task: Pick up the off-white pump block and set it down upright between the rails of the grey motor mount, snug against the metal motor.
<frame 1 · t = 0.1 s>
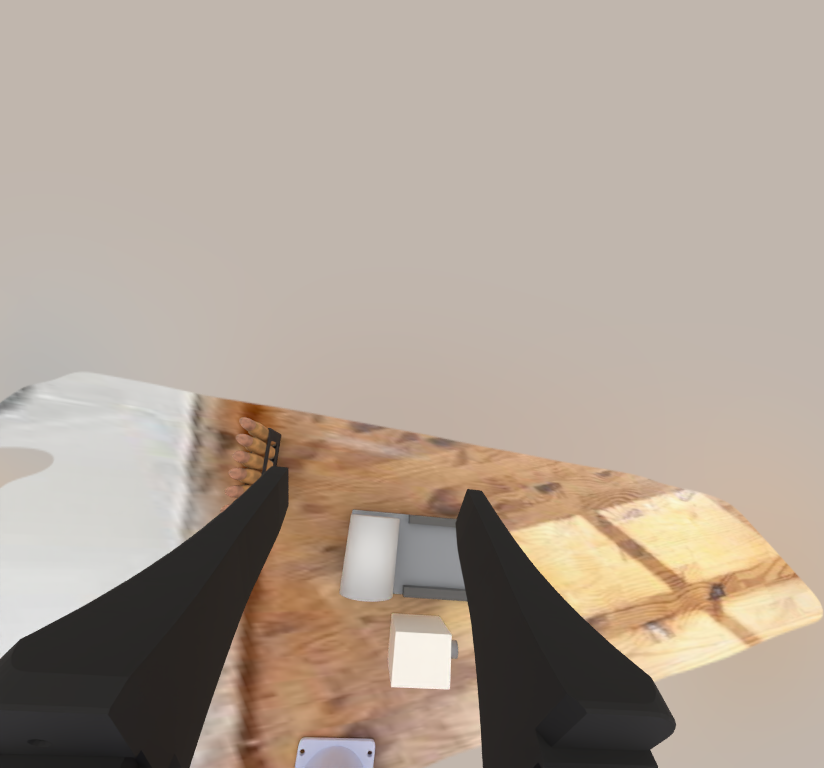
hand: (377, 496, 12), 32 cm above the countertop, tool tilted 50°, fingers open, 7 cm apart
motor mount: (408, 551, 40), on the countertop
pump block: (414, 636, 37), on the countertop
ammunition clip: (268, 473, 42), on the countertop
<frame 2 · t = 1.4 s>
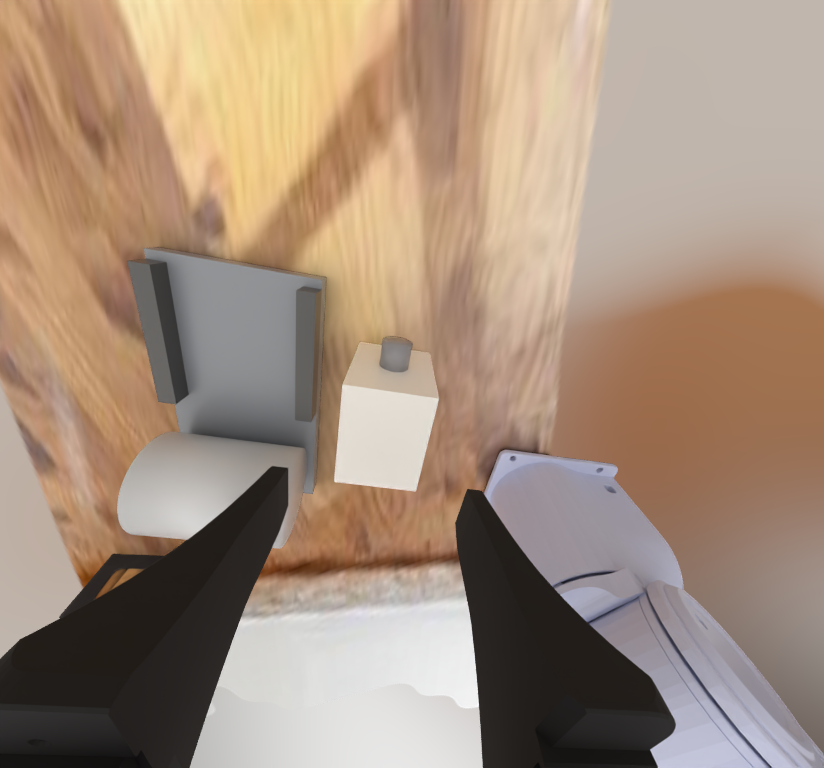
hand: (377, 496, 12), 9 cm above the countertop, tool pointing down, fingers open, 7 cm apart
motor mount: (252, 388, 21), on the countertop
pump block: (388, 388, 21), on the countertop
ammunition clip: (177, 560, 29), on the countertop
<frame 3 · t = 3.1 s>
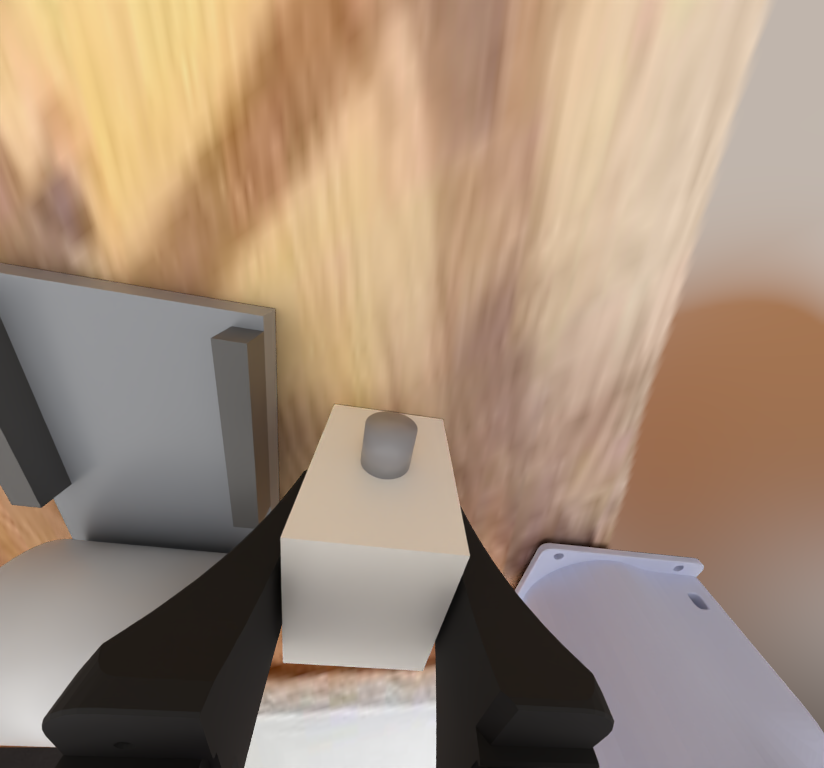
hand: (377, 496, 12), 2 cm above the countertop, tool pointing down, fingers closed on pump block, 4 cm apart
motor mount: (175, 468, 14), on the countertop
pump block: (380, 467, 14), on the countertop, touching gripper
ammunition clip: (105, 663, 22), on the countertop
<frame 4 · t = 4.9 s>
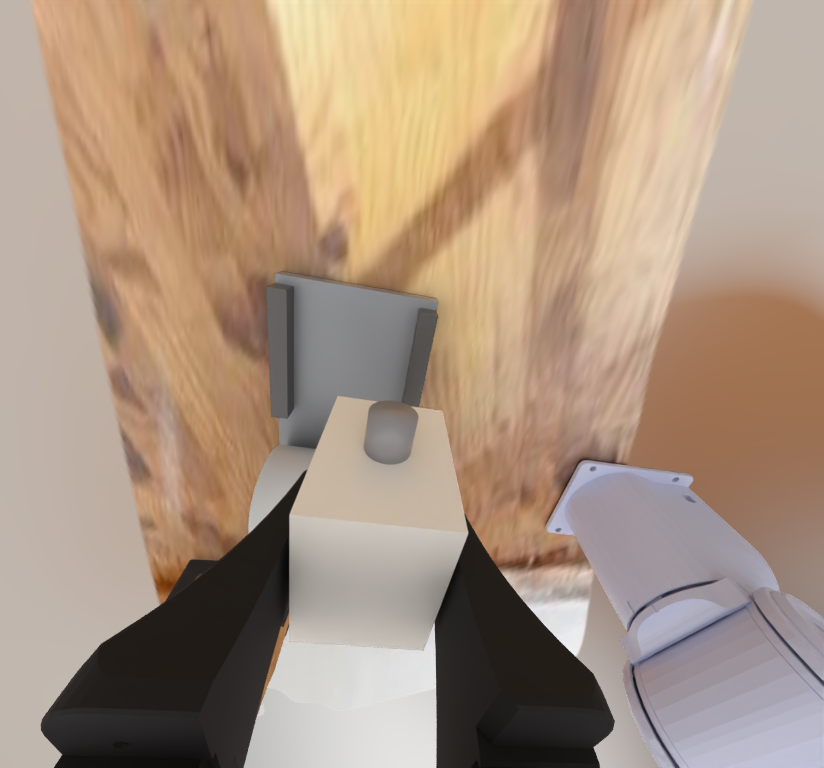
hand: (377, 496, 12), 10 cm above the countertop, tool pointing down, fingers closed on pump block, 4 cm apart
motor mount: (349, 402, 21), on the countertop
pump block: (381, 458, 14), point 7 cm above the countertop, touching gripper
ammunition clip: (250, 565, 30), on the countertop
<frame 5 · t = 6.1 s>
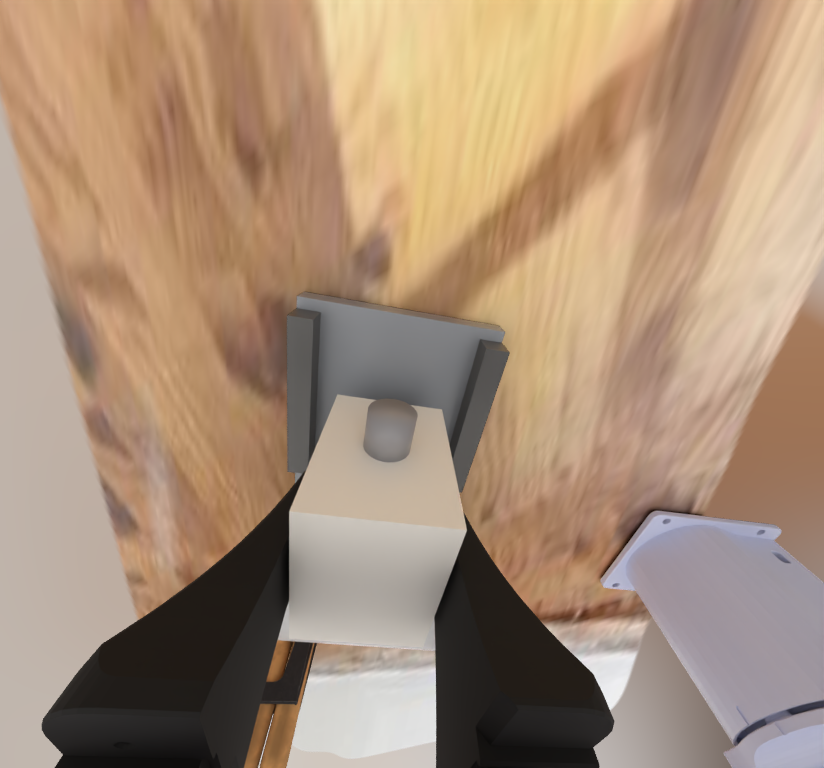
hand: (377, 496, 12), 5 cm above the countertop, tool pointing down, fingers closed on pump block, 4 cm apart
motor mount: (381, 447, 18), on the countertop
pump block: (381, 456, 14), point 3 cm above the countertop, touching gripper
ammunition clip: (255, 620, 26), on the countertop
when the fingers open (4 cm above the countertop, at t = 6.9 s): pump block stays where it is, resting on motor mount.
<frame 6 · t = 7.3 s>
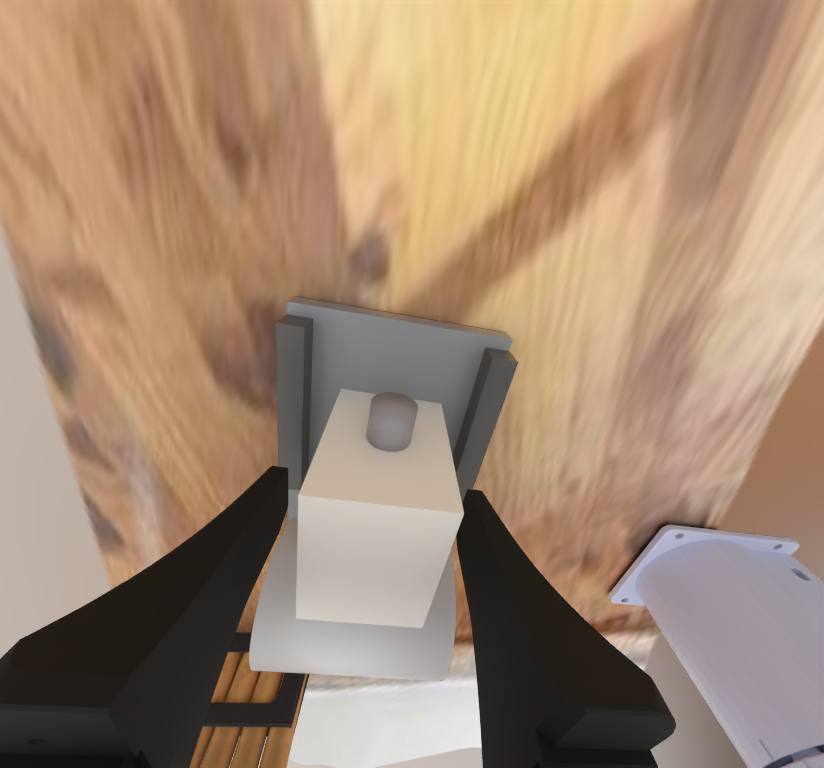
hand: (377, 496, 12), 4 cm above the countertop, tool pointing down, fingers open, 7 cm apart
motor mount: (379, 460, 17), on the countertop
pump block: (382, 449, 15), point 1 cm above the countertop, touching motor mount
ammunition clip: (249, 635, 25), on the countertop
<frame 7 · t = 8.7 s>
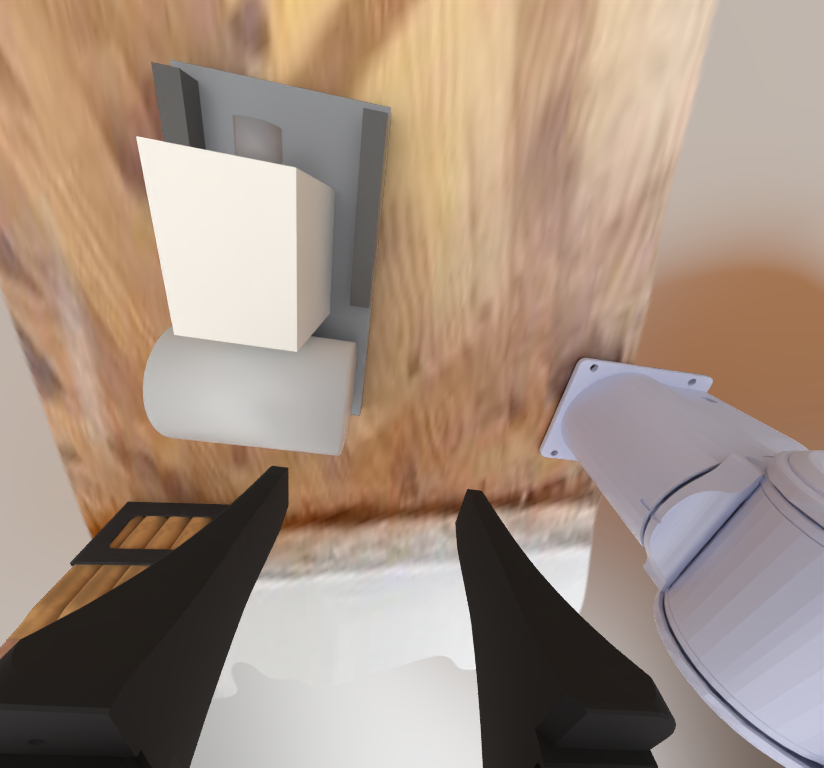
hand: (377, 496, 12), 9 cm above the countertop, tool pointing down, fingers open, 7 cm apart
motor mount: (293, 278, 17), on the countertop
pump block: (287, 249, 16), point 1 cm above the countertop, touching motor mount
ammunition clip: (199, 509, 26), on the countertop
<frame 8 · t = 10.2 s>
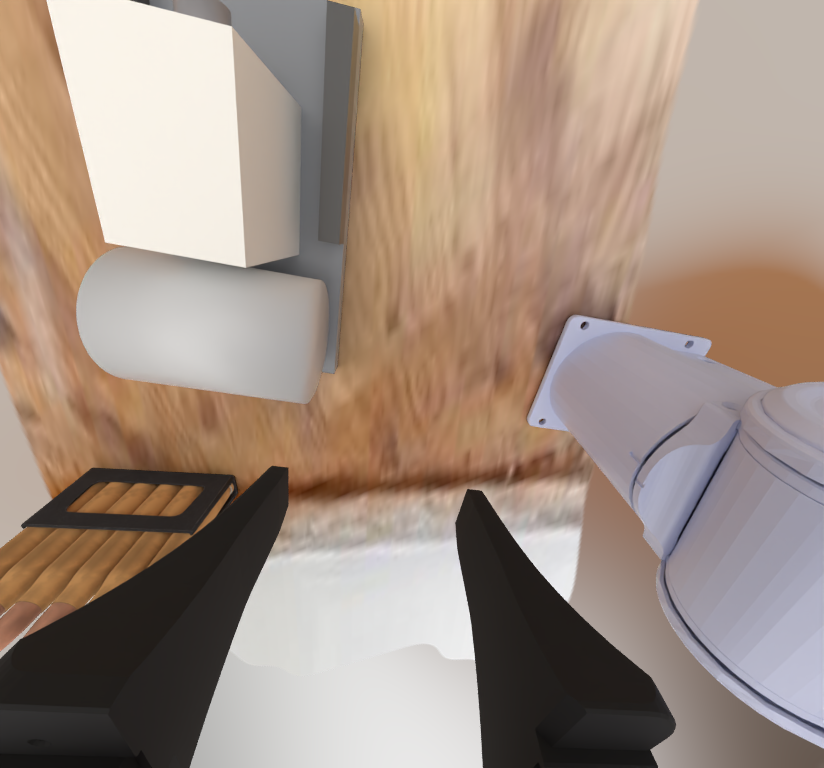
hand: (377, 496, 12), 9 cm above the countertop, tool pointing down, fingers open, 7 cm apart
motor mount: (261, 215, 16), on the countertop
pump block: (251, 177, 14), point 1 cm above the countertop, touching motor mount
ammunition clip: (169, 478, 24), on the countertop
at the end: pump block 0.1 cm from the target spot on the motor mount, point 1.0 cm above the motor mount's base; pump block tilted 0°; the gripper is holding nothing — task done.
